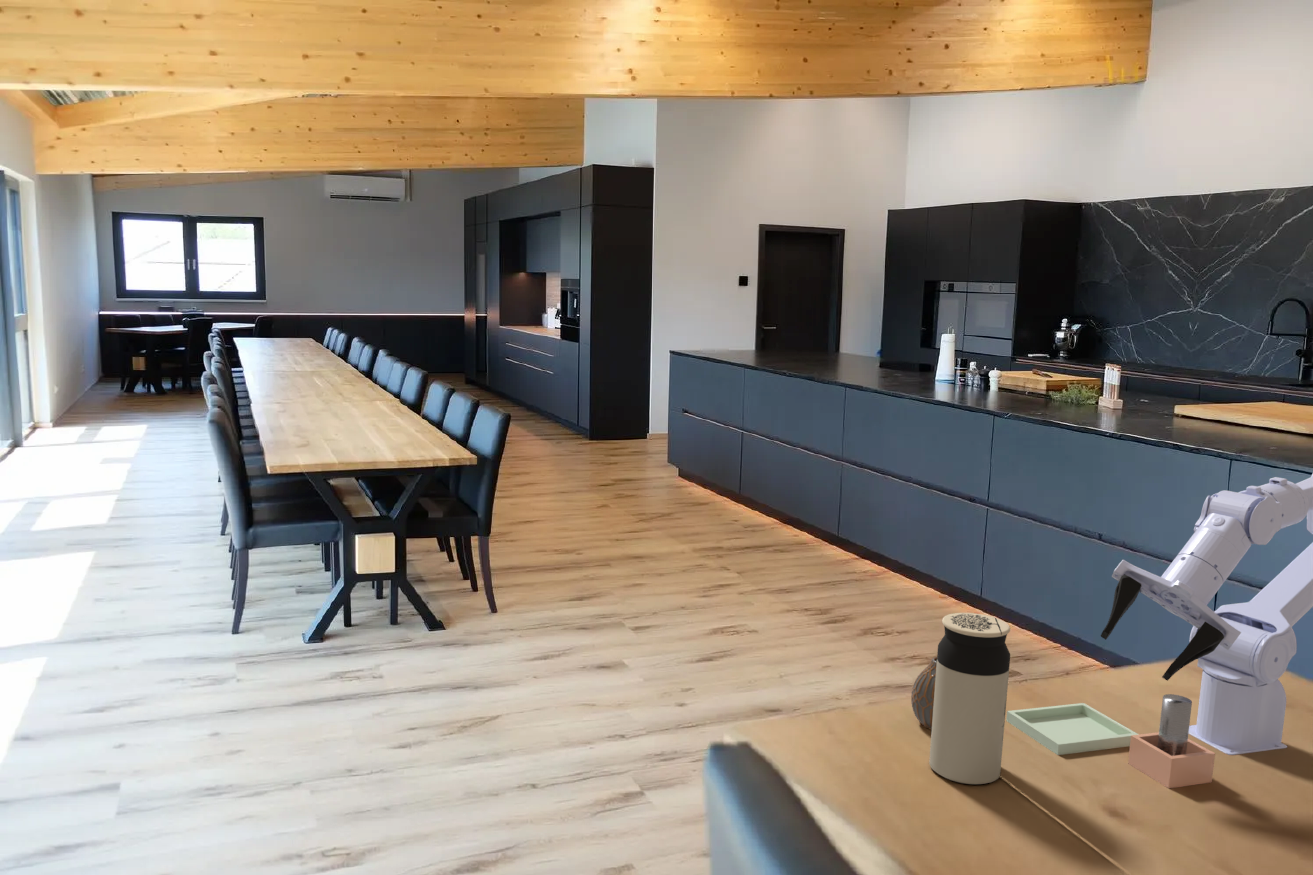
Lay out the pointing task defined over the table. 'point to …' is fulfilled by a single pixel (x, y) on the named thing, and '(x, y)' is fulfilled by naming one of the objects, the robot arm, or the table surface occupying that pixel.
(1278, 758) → the table surface
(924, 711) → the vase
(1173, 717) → the dowel
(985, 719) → the travel mug
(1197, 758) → the salmon open box
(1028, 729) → the tray
